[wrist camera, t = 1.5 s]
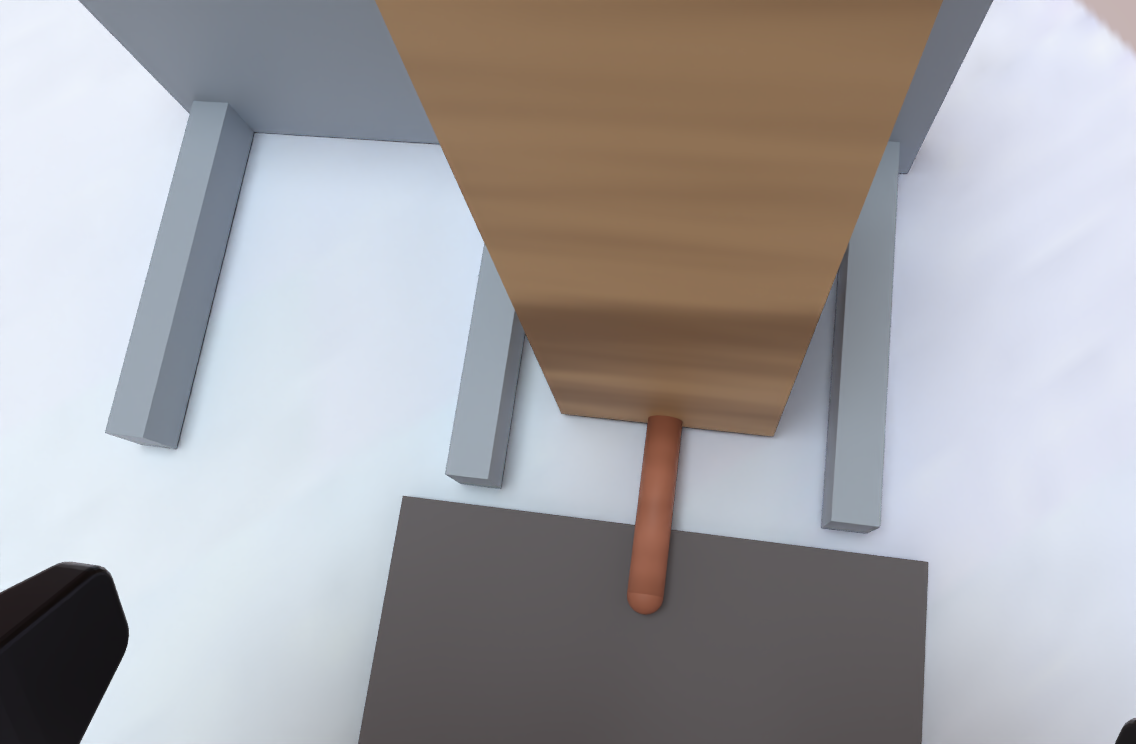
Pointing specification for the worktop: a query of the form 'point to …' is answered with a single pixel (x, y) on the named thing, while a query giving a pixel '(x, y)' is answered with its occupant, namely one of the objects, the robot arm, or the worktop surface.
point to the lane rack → (491, 367)
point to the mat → (637, 638)
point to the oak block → (664, 193)
